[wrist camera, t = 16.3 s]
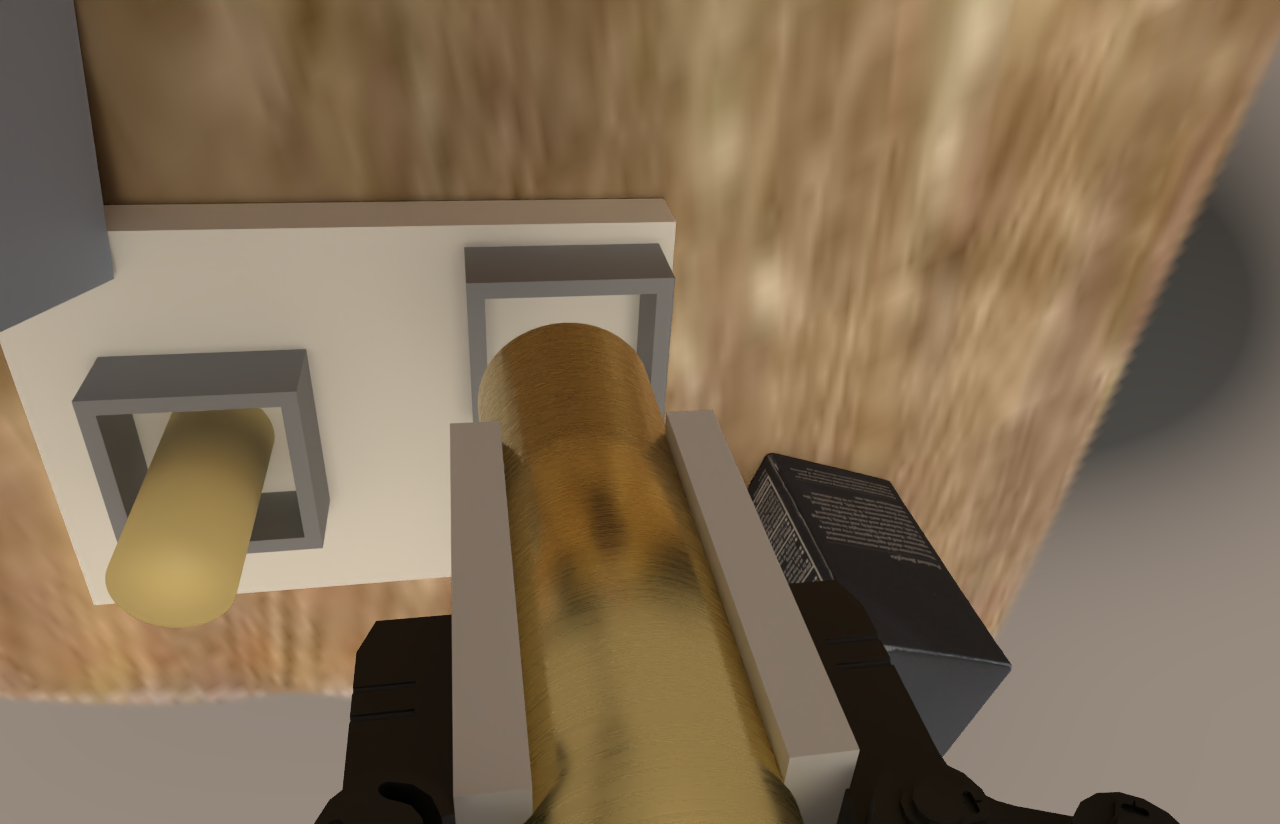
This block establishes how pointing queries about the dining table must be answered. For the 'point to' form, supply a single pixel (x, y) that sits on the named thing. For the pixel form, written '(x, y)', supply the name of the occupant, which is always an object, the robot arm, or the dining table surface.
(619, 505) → the brass pin
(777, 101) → the dining table surface
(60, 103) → the cover
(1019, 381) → the dining table surface
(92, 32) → the dining table surface
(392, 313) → the pin board
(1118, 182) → the dining table surface
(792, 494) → the small box
